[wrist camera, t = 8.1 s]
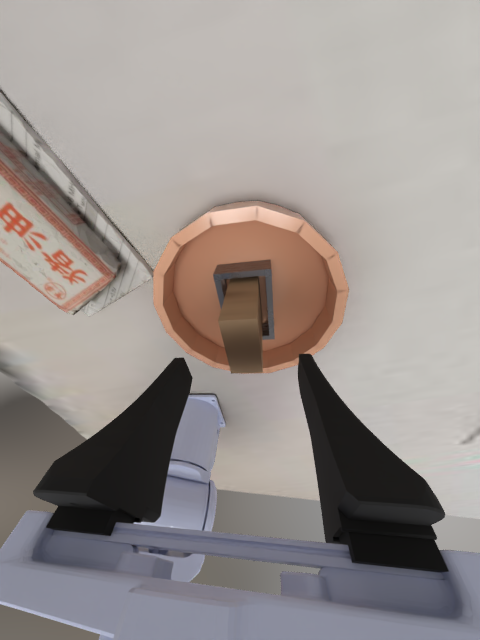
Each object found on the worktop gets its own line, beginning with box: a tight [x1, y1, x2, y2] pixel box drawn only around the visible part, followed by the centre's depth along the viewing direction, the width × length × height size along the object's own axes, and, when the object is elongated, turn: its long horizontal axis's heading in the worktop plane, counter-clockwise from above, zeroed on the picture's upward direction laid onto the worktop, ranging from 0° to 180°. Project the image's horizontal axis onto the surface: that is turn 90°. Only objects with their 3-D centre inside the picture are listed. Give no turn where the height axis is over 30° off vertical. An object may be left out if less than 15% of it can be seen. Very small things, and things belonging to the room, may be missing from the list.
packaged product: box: [0, 92, 153, 317], centre depth 16 cm, size 18×5×10 cm
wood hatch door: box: [218, 276, 263, 373], centre depth 17 cm, size 5×2×7 cm, turn 8°
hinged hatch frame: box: [213, 259, 275, 340], centre depth 19 cm, size 7×5×2 cm, turn 8°
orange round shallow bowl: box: [153, 201, 349, 373], centre depth 19 cm, size 16×16×4 cm
